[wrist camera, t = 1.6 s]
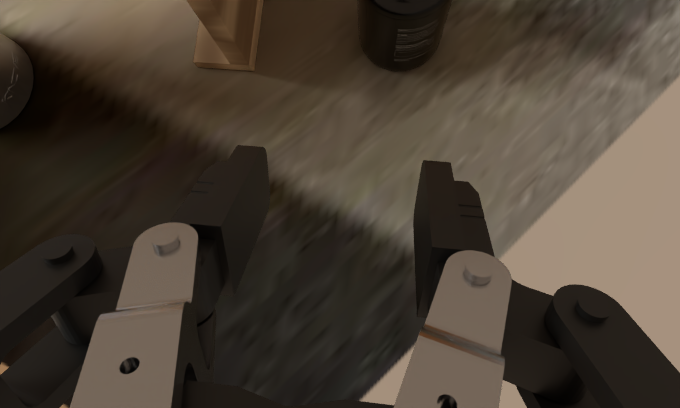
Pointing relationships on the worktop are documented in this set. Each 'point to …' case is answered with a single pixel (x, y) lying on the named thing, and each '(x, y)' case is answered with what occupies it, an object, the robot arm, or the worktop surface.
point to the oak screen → (227, 33)
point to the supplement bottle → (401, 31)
